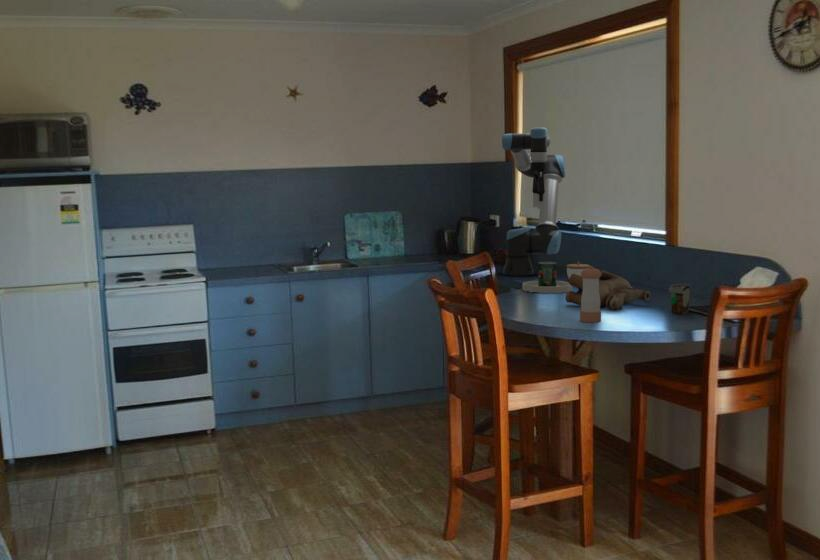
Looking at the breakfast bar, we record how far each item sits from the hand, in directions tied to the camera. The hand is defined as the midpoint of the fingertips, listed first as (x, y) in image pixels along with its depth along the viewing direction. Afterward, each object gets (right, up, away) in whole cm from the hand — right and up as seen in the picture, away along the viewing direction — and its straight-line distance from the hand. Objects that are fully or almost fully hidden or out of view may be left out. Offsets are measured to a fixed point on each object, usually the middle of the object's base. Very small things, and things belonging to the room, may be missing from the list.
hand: (538, 208), depth 395 cm
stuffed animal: (+18, -44, -63) cm, 79 cm away
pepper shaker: (+4, -48, -98) cm, 109 cm away
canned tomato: (+1, -37, -21) cm, 43 cm away
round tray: (+1, -38, -21) cm, 43 cm away
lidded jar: (+19, -34, +5) cm, 40 cm away
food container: (+39, -46, -83) cm, 102 cm away
